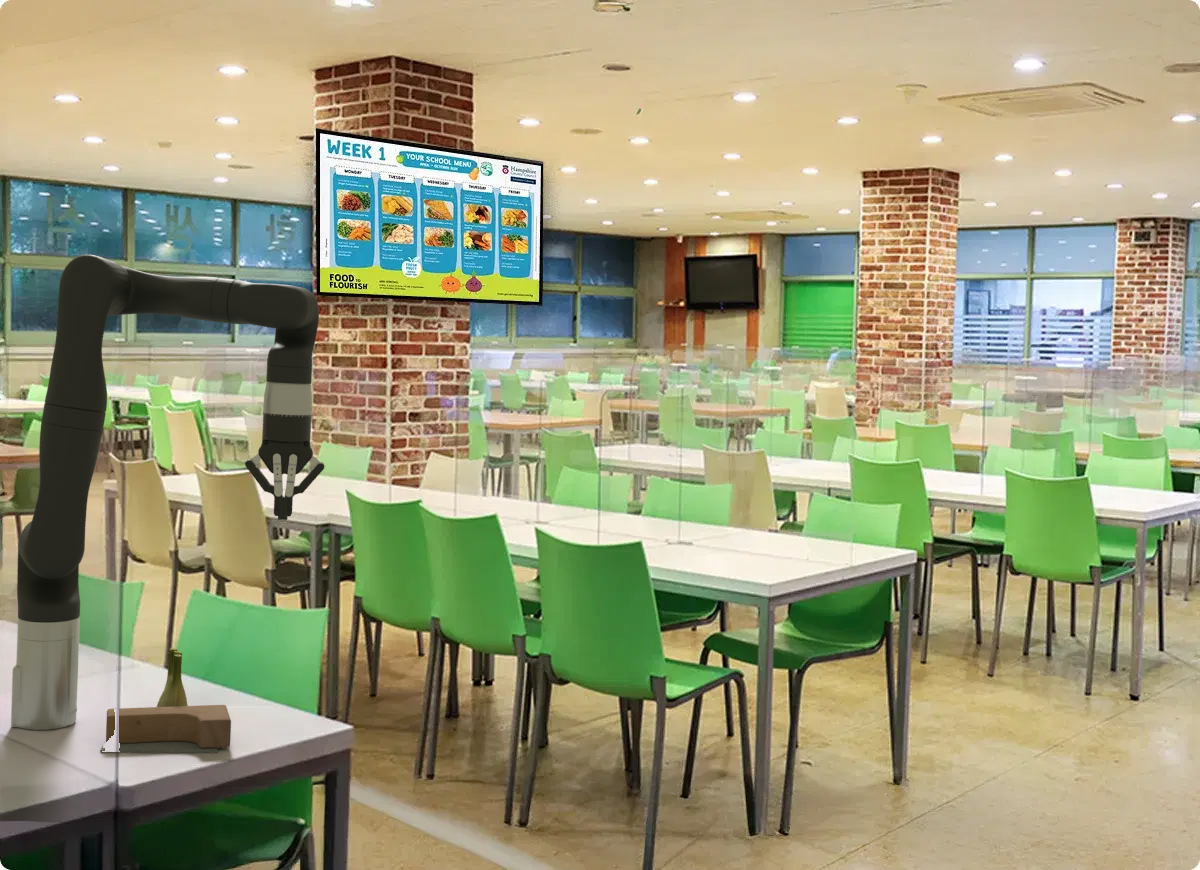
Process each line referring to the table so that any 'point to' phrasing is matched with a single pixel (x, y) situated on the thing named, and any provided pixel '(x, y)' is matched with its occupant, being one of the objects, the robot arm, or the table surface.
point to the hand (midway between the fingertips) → (282, 519)
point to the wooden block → (173, 725)
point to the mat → (163, 747)
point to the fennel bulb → (173, 683)
